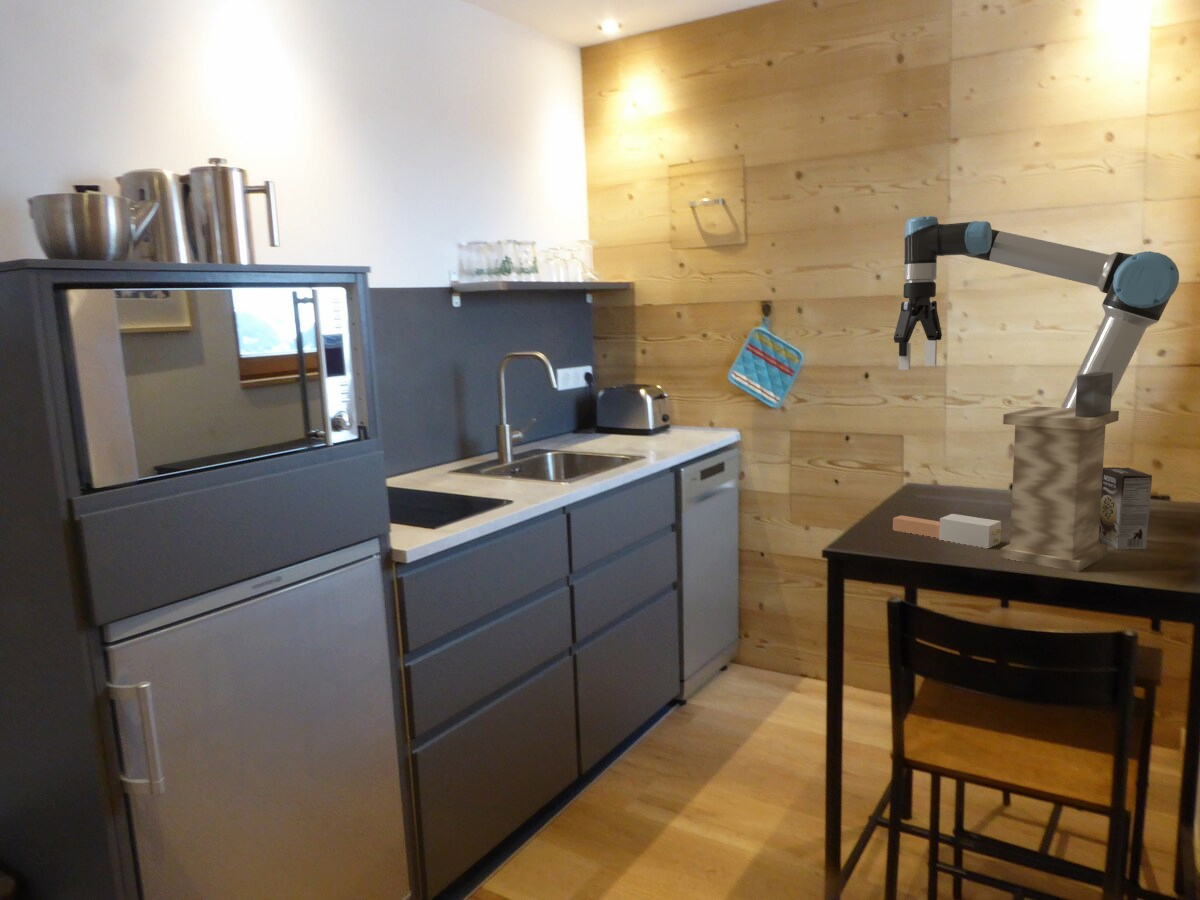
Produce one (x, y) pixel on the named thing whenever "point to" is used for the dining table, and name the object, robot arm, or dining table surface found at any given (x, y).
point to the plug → (953, 529)
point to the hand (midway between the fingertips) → (917, 367)
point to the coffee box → (1125, 508)
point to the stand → (1060, 478)
